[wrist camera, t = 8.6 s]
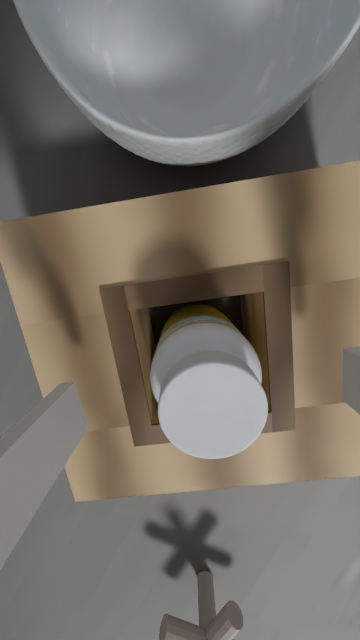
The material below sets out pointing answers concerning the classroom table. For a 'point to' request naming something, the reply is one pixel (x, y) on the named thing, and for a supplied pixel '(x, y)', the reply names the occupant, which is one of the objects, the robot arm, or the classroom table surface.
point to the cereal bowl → (189, 67)
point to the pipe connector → (205, 617)
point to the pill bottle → (207, 384)
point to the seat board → (187, 286)
